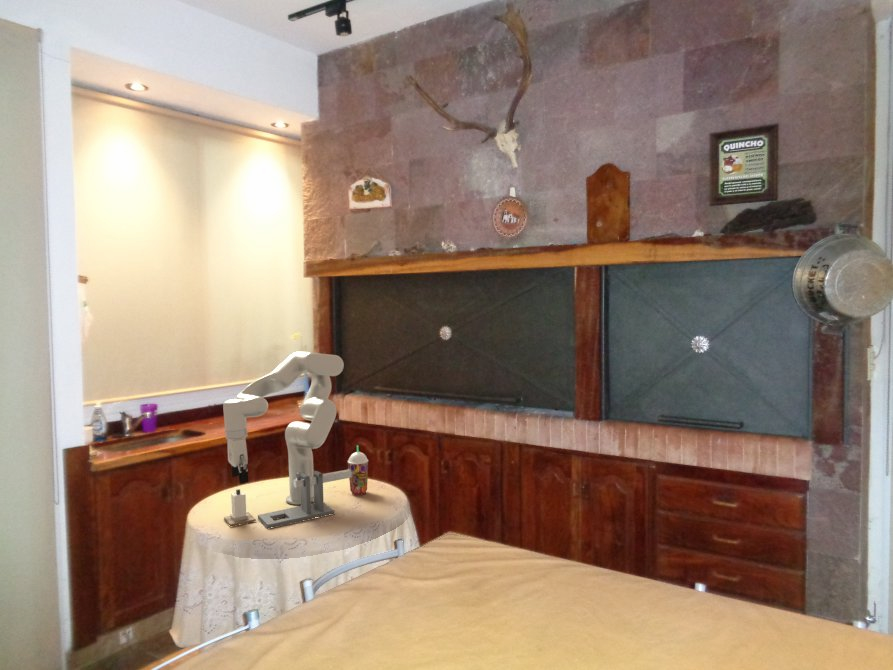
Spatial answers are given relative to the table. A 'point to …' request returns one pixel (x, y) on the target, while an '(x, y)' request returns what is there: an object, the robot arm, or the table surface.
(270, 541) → the table surface
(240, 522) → the pad
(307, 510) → the socket block
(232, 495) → the plug
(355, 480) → the smoothie
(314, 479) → the bolt
